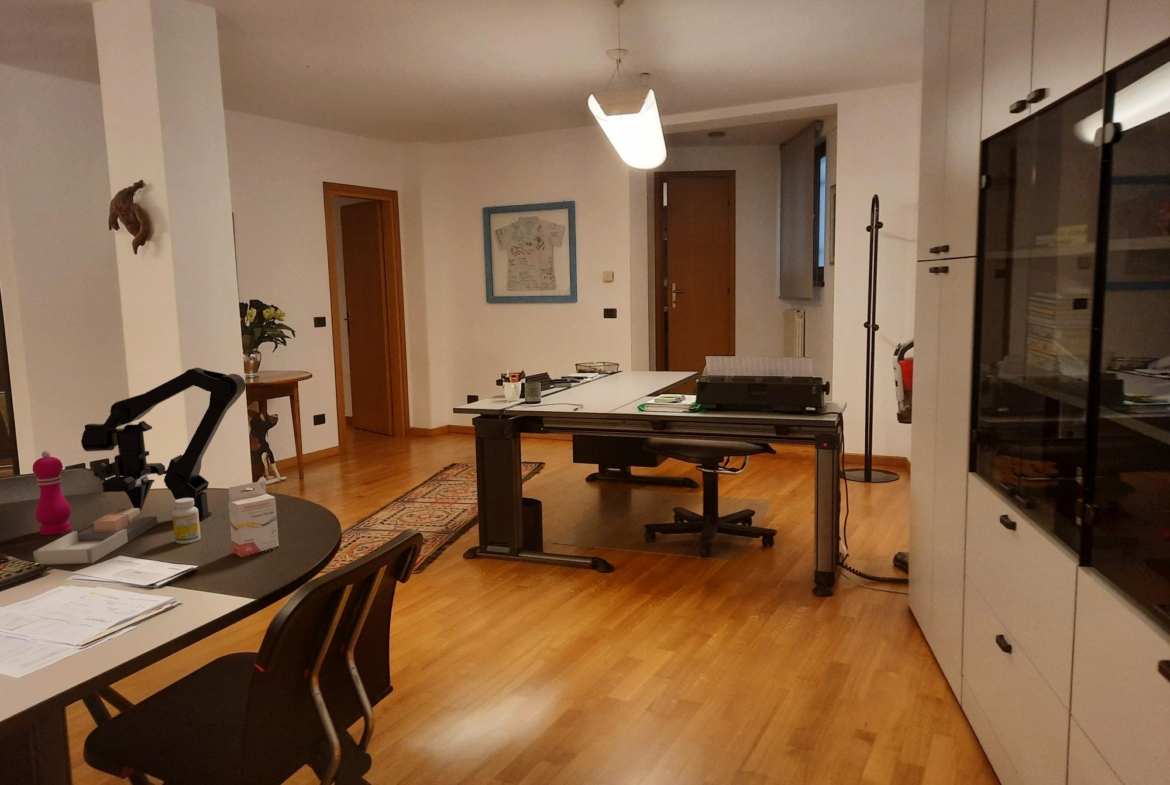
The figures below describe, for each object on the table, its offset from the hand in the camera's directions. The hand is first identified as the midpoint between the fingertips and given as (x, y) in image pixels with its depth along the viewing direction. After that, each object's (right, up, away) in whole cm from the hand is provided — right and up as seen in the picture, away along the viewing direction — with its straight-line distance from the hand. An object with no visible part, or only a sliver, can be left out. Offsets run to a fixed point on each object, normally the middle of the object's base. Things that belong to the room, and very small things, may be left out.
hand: (138, 510), depth 199 cm
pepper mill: (-17, -4, -6) cm, 18 cm away
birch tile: (0, -2, -6) cm, 7 cm away
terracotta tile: (0, -2, -12) cm, 12 cm away
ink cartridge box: (+40, -5, -25) cm, 47 cm away
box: (+1, -6, -23) cm, 24 cm away
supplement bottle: (+20, -5, -16) cm, 26 cm away
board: (0, -4, -9) cm, 10 cm away
